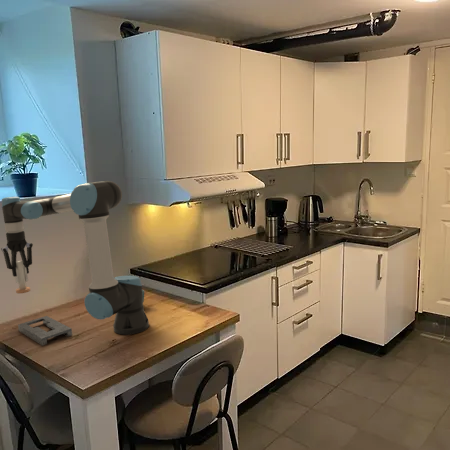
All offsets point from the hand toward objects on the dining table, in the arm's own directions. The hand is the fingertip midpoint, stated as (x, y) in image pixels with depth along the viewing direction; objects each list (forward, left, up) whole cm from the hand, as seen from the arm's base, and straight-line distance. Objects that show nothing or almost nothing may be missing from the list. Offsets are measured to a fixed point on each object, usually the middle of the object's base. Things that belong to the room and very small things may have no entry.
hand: (22, 281), depth 204 cm
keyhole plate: (-19, 0, -20) cm, 27 cm away
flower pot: (-25, -42, -20) cm, 53 cm away
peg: (0, 0, -5) cm, 5 cm away
